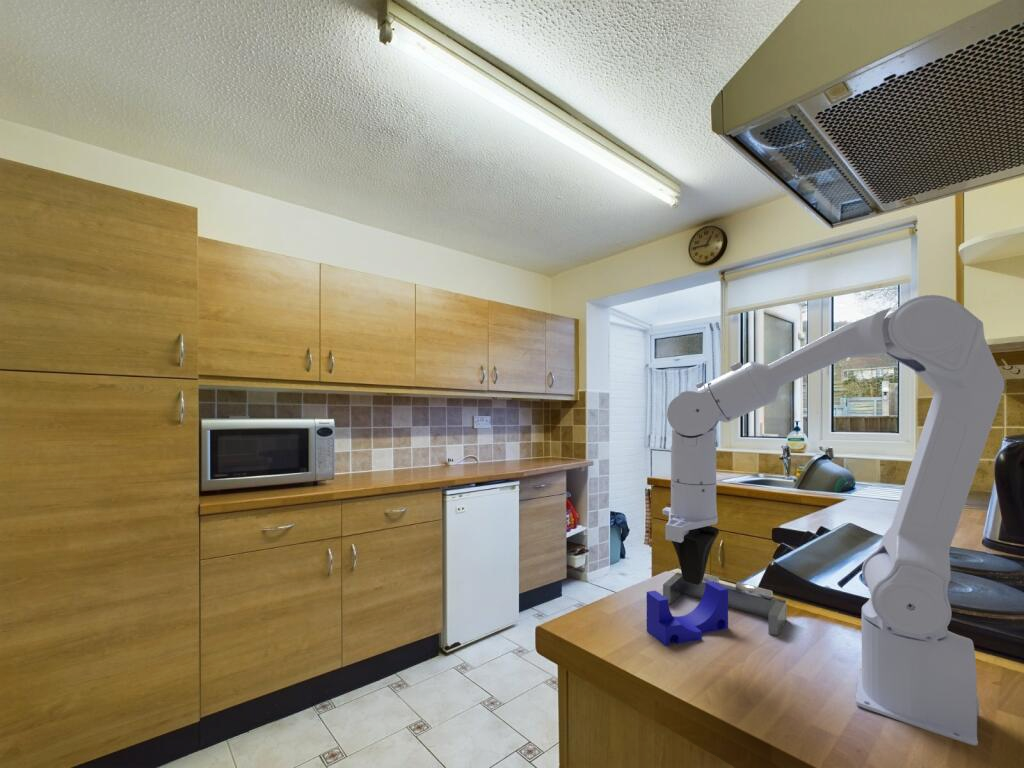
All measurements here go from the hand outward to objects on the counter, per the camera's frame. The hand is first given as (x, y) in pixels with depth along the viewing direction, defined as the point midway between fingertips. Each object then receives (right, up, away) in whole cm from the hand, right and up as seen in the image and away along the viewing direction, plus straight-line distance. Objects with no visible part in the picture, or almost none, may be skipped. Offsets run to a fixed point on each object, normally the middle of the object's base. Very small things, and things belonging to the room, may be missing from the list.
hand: (692, 581), depth 62 cm
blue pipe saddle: (+2, -10, +5) cm, 11 cm away
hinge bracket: (+9, -10, +12) cm, 18 cm away
